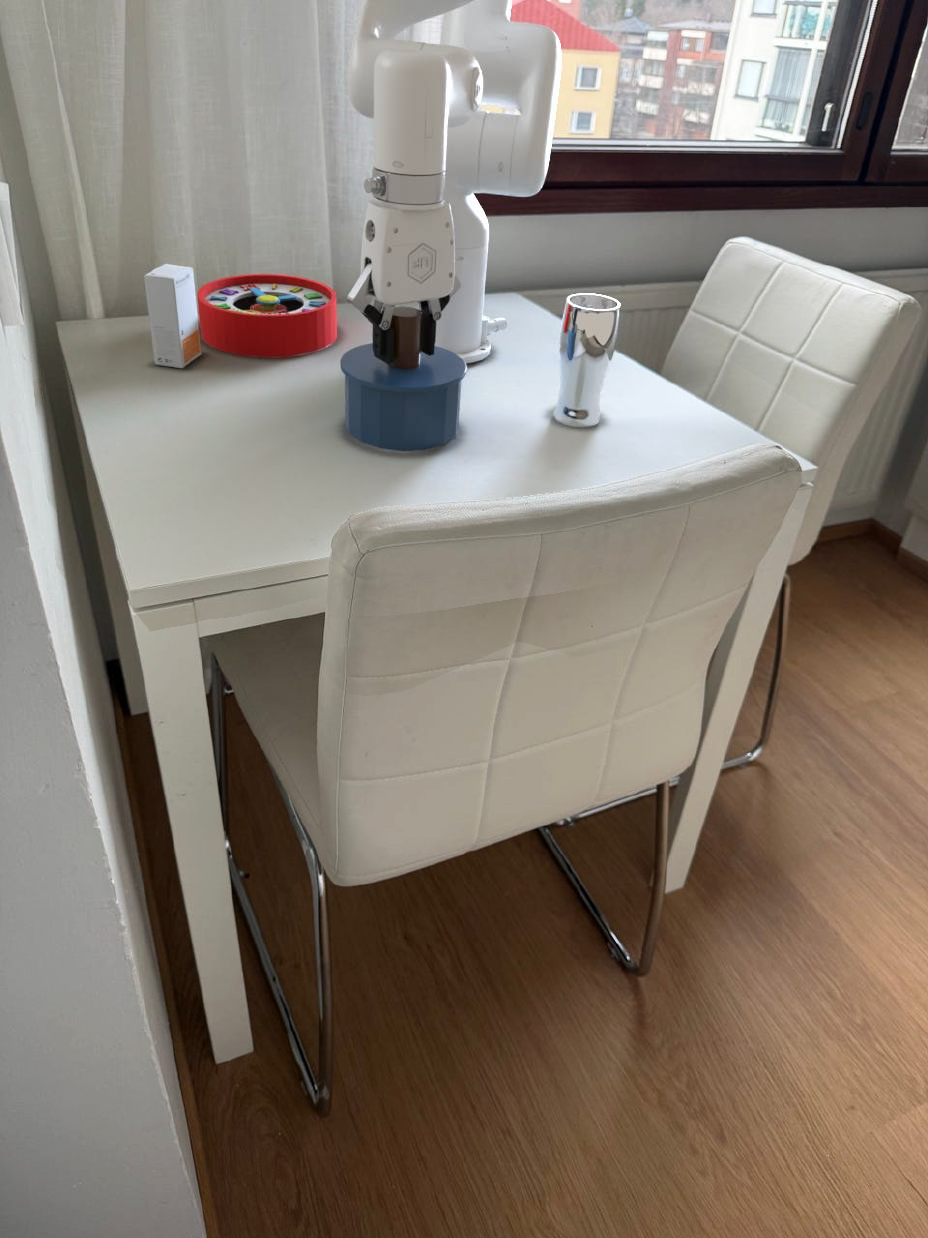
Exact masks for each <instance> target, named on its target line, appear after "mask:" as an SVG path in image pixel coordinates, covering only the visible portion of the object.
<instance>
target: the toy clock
mask: <svg viewBox="0 0 928 1238" xmlns="http://www.w3.org/2000/svg"><path fill="white" fill-rule="evenodd" d="M196 299H197V305H198V306H197V309H198V319H199V330H200V337H201V339H202V340H203V341H204V343H206V344H207V345H208V346H210V347H212V348H214V349H216V350H219V351H221V352H225V353H228V354H233V355H237V356H243V357H250V358H272V359H277V358H290V357H299V356H304V355H310V354H314V353H317V352H319V351H322V350H324V349H327V348H328V347H330V346H331V345H333V344H334V343H335V342H336V340H337V338H338V311H337V307H338V305H337V293H336V291H335V290H334V289H333V288H332V287H331V286H329V285H327V284H325V283H323V282H320V281H317V280H315V279H310V278H306V277H301V276H297V275H296V276H295V275H289V274H277V273H275V274H274V273H273V274H272V273H252V274H251V273H250V274H239V275H232V276H231V275H230V276H227V277H222V278H217V279H214V280H212V281H209V282H207V283H204V285H202V286H201V287H200V288H198V289H197V293H196Z"/></svg>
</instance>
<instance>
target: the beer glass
mask: <svg viewBox="0 0 928 1238" xmlns="http://www.w3.org/2000/svg"><path fill="white" fill-rule="evenodd" d="M620 308H621V303H620V302H619V301H618V300H617V299H615V298H613V297H610V296H607V295H602V294H596V293H576V294H571V295H568V296H567V297H566V299H565V306H564V310H563V315H562V320H561V326H560V332H559V342H558V361H559V362H558V363H559V393H558V397H557V400H556V403H555V406H554V409H553V416H552V417H553V418H554V420H556V421H557V422H558V423H560V424H562V425H565V426H568V427H573V428H590V427H593V426H596V425H598V424H599V423H600V420H601V396H602V395H601V394H602V390H603V387H604V383H605V380H606V377H607V375H608V372H609V368H610V366H611V362H612V359H613V357H614V353H615V349H616V344H617V339H618V332H619V323H620V322H619V321H620Z"/></svg>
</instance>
